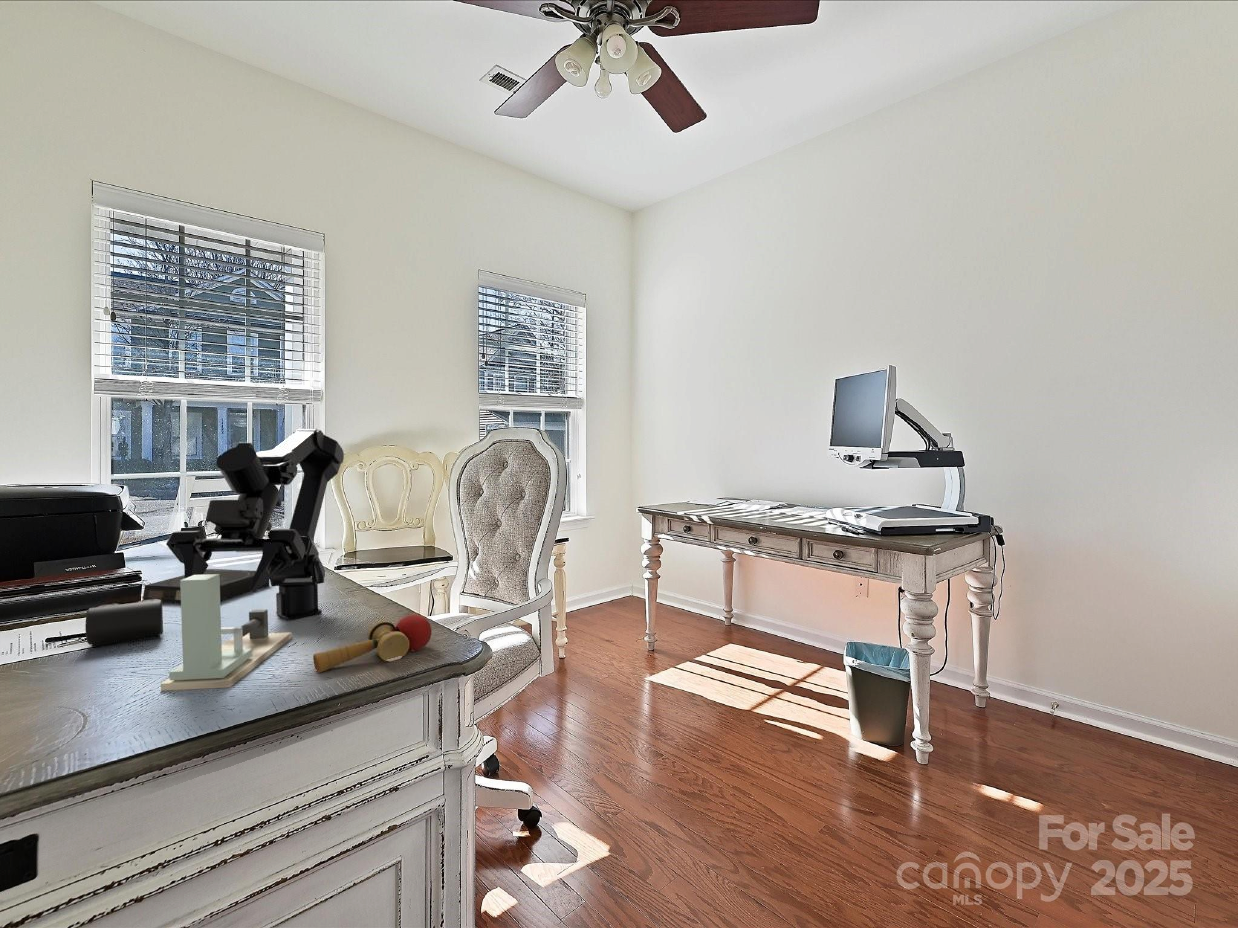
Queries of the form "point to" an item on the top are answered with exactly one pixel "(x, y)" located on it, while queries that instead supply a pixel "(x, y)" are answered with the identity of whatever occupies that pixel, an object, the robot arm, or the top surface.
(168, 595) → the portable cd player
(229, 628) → the tall sage green column
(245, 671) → the board
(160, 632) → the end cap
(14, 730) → the top surface
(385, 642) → the kendama
